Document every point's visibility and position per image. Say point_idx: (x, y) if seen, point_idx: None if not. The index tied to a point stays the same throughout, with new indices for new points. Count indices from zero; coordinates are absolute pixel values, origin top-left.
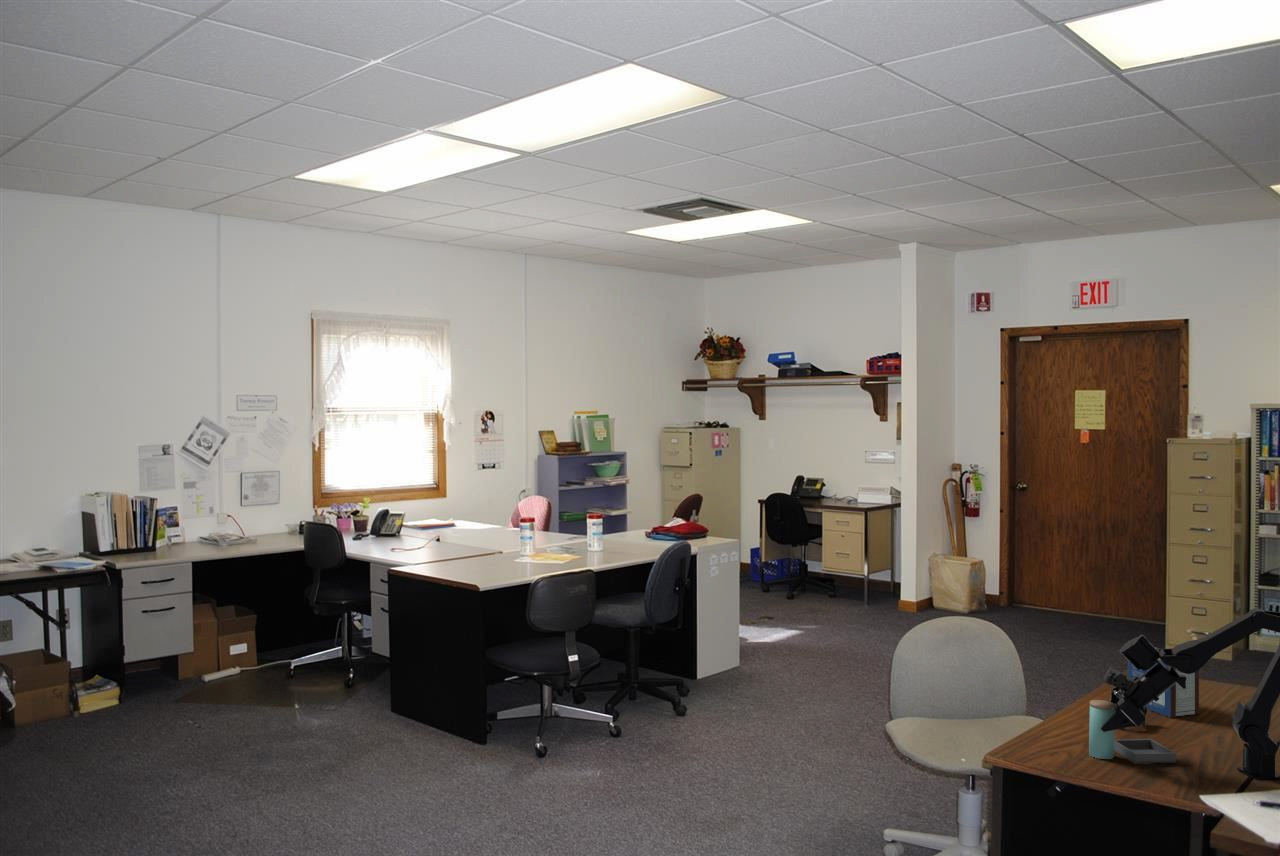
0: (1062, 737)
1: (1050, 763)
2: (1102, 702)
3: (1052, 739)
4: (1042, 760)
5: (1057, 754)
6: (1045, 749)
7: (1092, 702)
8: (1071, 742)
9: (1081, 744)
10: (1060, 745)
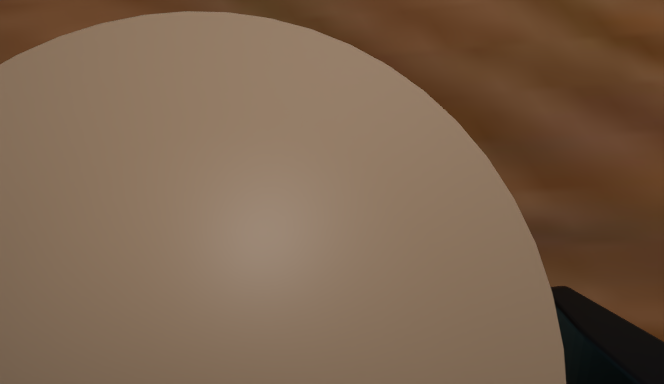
0: (609, 77)
1: (14, 56)
2: (252, 361)
3: (520, 25)
4: (56, 13)
5: None
6: (281, 8)
7: (111, 78)
8: (528, 138)
9: (522, 204)
10: (415, 79)
